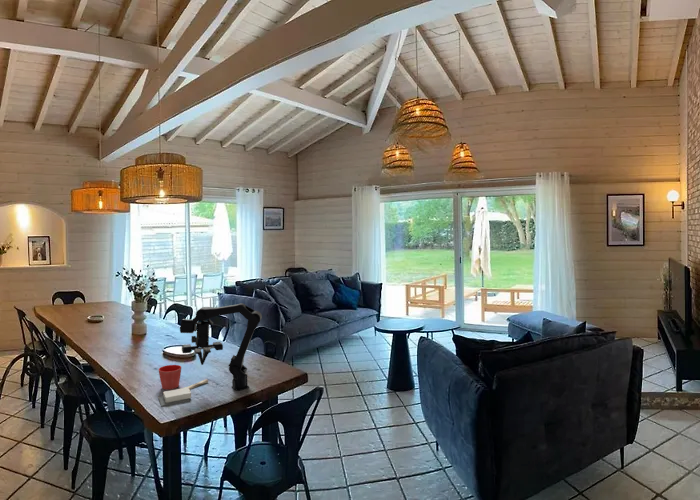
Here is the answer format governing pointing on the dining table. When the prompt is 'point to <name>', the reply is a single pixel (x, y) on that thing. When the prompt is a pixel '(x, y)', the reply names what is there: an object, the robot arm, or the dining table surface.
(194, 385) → the spatula
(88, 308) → the dining table surface
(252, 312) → the robot arm
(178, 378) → the flower pot
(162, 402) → the mat
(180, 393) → the tile
